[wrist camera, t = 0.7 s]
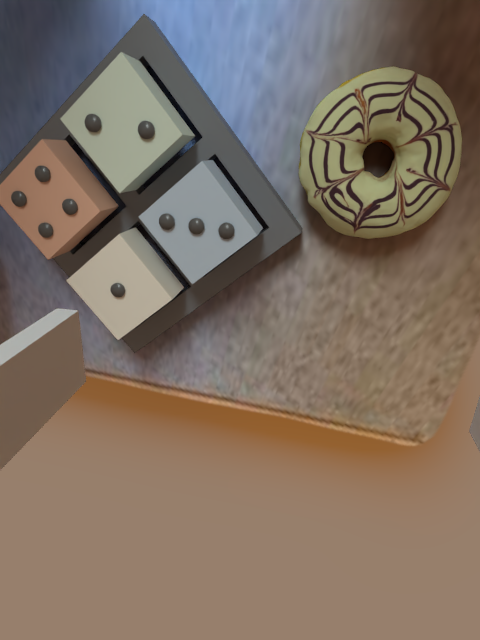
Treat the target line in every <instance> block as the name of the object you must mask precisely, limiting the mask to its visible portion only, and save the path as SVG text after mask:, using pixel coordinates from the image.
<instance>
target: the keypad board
mask: <svg viewBox="0 0 480 640" xmlns="http://www.w3.org/2000/svg"><path fill="white" fill-rule="evenodd" d="M120 52H122V53H124V54H127V55H129V56H131V57H133V58H135V59H137V60H139V61H140V62H141V63H142V65H143V66H144V67H145V69H146V68H147V67H148V66H149V65H150V66H151V67H152V68H153V70H154V71H155V73H156V74H157V75H158V77H159V78H160V79H161V81H162V82H163V83H164V85H165V86H166V88H167V89H168V90H169V92H170V93H171V94H172V96H173V97H174V98H175V100H176V101H177V103H178V104H179V105H180V107H181V108H182V109H183V111H184V112H185V113H186V115H187V116H188V118H189V119H190V120H191V122H192V123H193V124H194V126H195V127H196V128H197V130H198V131H199V133H200V134H201V135H202V138H201V139H200V140H199V141H198V142H197V143H196V144H195V145H194V146H192V147H191V148H190V149H189V150H188V151H187V152H186V153H185V154H184V155H183V156H181V157H180V158H179V159H178V160H177V161H176V162H175V163H174V164H173V165H172V166H170V167H169V168H168V169H167V170H166V171H165V172H164V173H163V174H162V175H160V176H159V177H158V178H157V179H156V180H155V181H154V182H153V183H152V184H151V185H149V186H148V187H147V188H146V189H145V187H144V186H143V185H141V186H140V187H139V188H138V189H137V190H133V191H128V192H124V193H119V192H118V191H117V190H116V188H115V187H114V186H113V185H112V183H111V182H110V181H109V180H108V178H107V177H106V176H105V175H104V173H103V172H102V171H101V170H100V168H99V167H98V166H97V165H96V163H95V162H94V161H93V160H92V158H91V157H90V156H89V155H88V153H87V152H86V151H85V149H84V148H83V147H82V146H81V144H80V143H79V142H78V141H77V139H76V138H75V137H74V136H73V134H72V133H71V132H70V131H69V129H68V128H67V127H66V126H65V124H64V123H63V122H62V121H61V119H60V118H61V117H62V116H63V115H64V114H65V113H66V112H67V111H68V110H69V109H70V107H71V106H72V105H73V104H74V103H75V102H76V101H77V100H78V99H79V98H80V96H81V95H82V94H83V93H84V92H85V91H86V90H87V89H88V88H89V86H90V85H91V84H92V83H93V82H94V81H95V80H96V79H97V78H98V77H99V75H100V74H101V73H102V72H103V71H104V70H105V69H106V68H107V67H108V66H109V64H110V63H111V62H112V61H113V60H114V59H115V58H116V57H117V56H118V55H119V53H120ZM41 139H51V140H66V141H67V142H68V144H69V145H70V146H71V147H72V146H73V145H74V144H75V143H77V145H78V146H79V147H80V148H81V150H82V151H83V152H84V153H85V155H86V156H87V157H88V158H89V160H90V161H91V162H92V163H93V165H94V166H95V167H96V168H97V170H98V171H99V172H100V173H101V175H102V176H103V177H104V178H105V180H106V181H107V182H108V183H109V185H110V186H111V187H112V188H113V190H114V191H115V192H116V193H117V195H118V196H119V197H120V198H121V200H122V201H123V202H124V203H125V205H126V207H125V208H124V209H123V210H122V211H121V212H120V213H119V214H118V215H116V216H115V217H114V218H113V219H112V220H111V221H110V222H109V223H108V224H106V225H105V226H104V227H103V228H102V229H101V230H100V231H99V232H98V233H97V234H95V235H94V236H93V237H92V238H91V239H90V240H89V241H88V242H87V243H86V244H84V245H83V246H81V245H80V243H78V244H77V245H76V246H75V247H74V248H73V249H71V250H70V251H69V252H66V253H64V254H61V255H59V256H56V257H54V258H53V259H54V260H55V261H56V262H57V263H58V265H59V266H60V267H61V268H62V269H63V270H64V272H65V273H66V274H67V275H68V276H69V277H71V276H72V275H73V274H74V273H75V272H77V271H78V270H79V269H80V268H81V267H82V266H83V265H84V264H86V263H87V262H88V261H89V260H90V259H91V258H92V257H94V256H95V255H96V254H97V253H98V252H99V251H100V250H101V249H103V248H104V247H105V246H106V245H107V244H108V243H109V242H111V241H112V240H113V239H114V238H115V237H116V236H117V235H118V234H120V233H123V232H125V231H128V230H130V229H132V228H135V227H137V226H138V225H139V224H141V225H142V226H143V227H144V228H145V230H146V231H147V232H148V233H149V235H150V236H151V237H152V238H153V240H154V241H155V242H156V243H157V245H158V246H159V247H160V248H161V250H162V251H163V252H164V253H165V255H166V256H167V257H168V258H169V260H170V261H171V262H172V263H173V265H174V266H175V267H176V268H177V270H178V271H179V272H180V273H181V275H182V276H183V277H184V278H185V280H186V281H187V282H188V283H189V285H190V286H189V287H188V288H186V289H185V290H184V291H182V292H181V293H180V294H178V295H177V296H176V297H174V298H173V299H172V300H171V301H169V302H168V303H167V304H166V305H164V306H163V307H162V308H160V309H159V310H158V311H156V312H155V313H154V314H152V315H151V316H150V317H148V318H147V319H146V320H144V321H143V322H142V323H140V324H139V325H138V326H136V327H135V328H134V329H132V330H131V331H130V332H128V333H127V334H126V335H124V336H123V337H122V339H123V340H124V341H125V342H126V343H127V345H128V346H129V347H130V348H131V349H132V350H133V352H134V353H136V352H137V351H138V350H140V349H141V348H142V347H144V346H145V345H147V344H148V343H149V342H151V341H152V340H153V339H155V338H156V337H158V336H159V335H160V334H162V333H163V332H165V331H166V330H167V329H169V328H170V327H171V326H173V325H174V324H176V323H177V322H178V321H180V320H181V319H183V318H184V317H185V316H187V315H188V314H189V313H191V312H192V311H194V310H195V309H196V308H198V307H199V306H200V305H202V304H203V303H205V302H206V301H207V300H209V299H210V298H212V297H213V296H214V295H216V294H217V293H218V292H220V291H221V290H223V289H224V288H225V287H227V286H228V285H230V284H231V283H232V282H234V281H235V280H236V279H238V278H239V277H241V276H242V275H243V274H245V273H246V272H247V271H249V270H250V269H252V268H253V267H254V266H256V265H257V264H259V263H260V262H261V261H263V260H264V259H265V258H267V257H268V256H270V255H271V254H272V253H274V252H275V251H277V250H278V249H279V248H281V247H282V246H283V245H285V244H286V243H288V242H289V241H290V240H292V239H293V238H294V237H296V236H297V235H299V234H300V233H301V232H302V227H301V225H300V224H299V223H298V221H297V220H296V219H295V217H294V216H293V214H292V213H291V212H290V210H289V209H288V207H287V206H286V205H285V203H284V202H283V200H282V199H281V198H280V196H279V195H278V193H277V192H276V191H275V189H274V188H273V186H272V185H271V184H270V182H269V181H268V179H267V178H266V177H265V175H264V174H263V172H262V171H261V170H260V168H259V167H258V165H257V164H256V163H255V161H254V160H253V158H252V157H251V156H250V154H249V153H248V152H247V150H246V149H245V147H244V146H243V145H242V143H241V142H240V140H239V139H238V138H237V136H236V135H235V133H234V132H233V131H232V129H231V128H230V126H229V125H228V124H227V122H226V121H225V119H224V118H223V117H222V115H221V114H220V112H219V111H218V110H217V108H216V107H215V105H214V104H213V103H212V101H211V100H210V98H209V97H208V96H207V94H206V93H205V91H204V90H203V89H202V87H201V86H200V85H199V83H198V82H197V80H196V79H195V78H194V76H193V75H192V73H191V72H190V71H189V69H188V68H187V66H186V65H185V64H184V62H183V61H182V59H181V58H180V57H179V55H178V54H177V52H176V51H175V50H174V48H173V47H172V45H171V44H170V43H169V41H168V40H167V38H166V37H165V36H164V34H163V33H162V31H161V30H160V29H159V27H158V26H157V24H156V23H155V22H154V21H153V20H151V19H150V18H149V17H148V16H146V15H145V14H143V16H142V17H141V18H140V19H139V20H138V21H137V22H136V23H135V24H134V26H133V27H132V28H131V29H130V30H129V31H128V32H127V33H126V35H125V36H124V37H123V38H122V39H121V40H120V41H119V42H118V43H117V45H116V46H115V47H114V48H113V49H112V50H111V51H110V52H109V54H108V55H107V56H106V57H105V58H104V59H103V60H102V61H101V62H100V64H99V65H98V66H97V67H96V68H95V69H94V70H93V71H92V72H91V74H90V75H89V76H88V77H87V78H86V79H85V80H84V81H83V83H82V84H81V85H80V86H79V87H78V88H77V89H76V90H75V91H74V93H73V94H72V95H71V96H70V97H69V98H68V99H67V100H66V101H65V103H64V104H63V105H62V106H61V107H60V108H59V109H58V110H57V112H56V113H55V114H54V115H53V116H52V117H51V118H50V119H49V120H48V122H47V123H46V124H45V125H44V126H43V127H42V128H41V129H40V131H39V132H38V133H37V134H36V135H35V136H34V137H33V138H32V139H31V141H30V142H29V143H28V144H27V145H26V146H25V147H24V148H23V149H22V151H21V152H20V153H19V154H18V155H17V156H16V157H15V158H14V160H13V161H12V162H11V163H10V164H9V165H8V166H7V167H6V168H5V170H4V171H3V172H2V173H1V174H0V184H1V183H2V182H3V181H4V180H5V179H6V178H7V177H8V176H9V175H10V173H11V172H12V171H13V170H14V169H15V168H16V167H17V166H18V165H19V164H20V162H21V161H22V160H23V159H24V158H25V157H26V156H27V155H28V154H29V153H30V151H31V150H32V149H33V148H34V147H35V146H36V145H37V144H38V143H39V142H40V140H41ZM216 157H218V158H219V160H220V161H221V162H222V164H223V165H224V167H225V168H226V169H227V171H228V172H229V173H230V175H231V176H232V177H233V179H234V180H235V182H236V183H237V184H238V186H239V187H240V188H241V190H242V191H243V192H244V194H245V195H246V197H247V198H248V199H249V201H250V202H251V203H252V205H253V206H254V207H255V209H256V210H257V212H258V213H259V214H260V216H261V217H262V218H263V220H264V221H265V222H266V224H267V225H268V227H267V228H266V229H265V230H263V231H262V232H261V233H259V234H258V235H257V236H256V237H254V238H253V239H252V240H250V241H249V242H248V243H246V244H245V245H244V246H242V247H241V248H240V249H238V250H237V251H236V252H235V253H233V254H232V255H231V256H229V257H228V258H227V259H225V260H224V261H223V262H221V263H220V264H219V265H217V266H216V267H215V268H213V269H212V270H211V271H209V272H208V273H207V274H205V275H204V276H203V277H201V278H200V279H199V280H197V281H196V282H195V283H193V284H192V283H191V282H190V281H189V280H188V278H187V277H186V276H185V275H184V273H183V272H182V271H181V270H180V268H179V267H178V266H177V265H176V263H175V262H174V261H173V260H172V258H171V257H170V256H169V255H168V253H167V252H166V251H165V250H164V248H163V247H162V246H161V245H160V243H159V242H158V241H157V240H156V238H155V237H154V236H153V235H152V233H151V232H150V231H149V230H148V228H147V227H146V226H145V225H144V223H143V222H142V221H141V220H140V218H139V216H140V215H141V214H142V213H143V212H145V211H146V210H147V209H148V208H149V207H150V206H151V205H152V204H154V203H155V202H156V201H157V200H158V199H159V198H160V197H162V196H163V195H164V194H165V193H166V192H167V191H168V190H169V189H171V188H172V187H173V186H174V185H175V184H176V183H177V182H179V181H180V180H181V179H182V178H183V177H184V176H185V175H186V174H188V173H189V172H190V171H191V170H192V169H193V168H194V167H196V166H197V165H198V164H199V163H200V162H201V161H206V160H214V159H215V158H216Z"/></svg>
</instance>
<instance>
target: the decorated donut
mask: <svg viewBox="0 0 480 640" xmlns="http://www.w3.org/2000/svg"><path fill="white" fill-rule="evenodd" d="M374 142H378V143H379V142H383V143H384V144H387V145H388V146H389V147H390V149H391V150H392V151H393V152H394V160H393V161H392V164H391V168H390V170H389V171H388V172H387V173H385V174H384V175H383V176H381V177H379V178H377V177H375V176H373V175H372V173H370V172H366V171H364V161H363V158H362V155H363V152H364V150H365V148H366V147H367V146H368V145H369V144H371V143H374ZM461 146H462V136H461V128H460V124H459V122H458V119H457V117H456V113H455V110H454V107H453V105H452V103H451V101H450V99H449V98H448V97H447V95H446V94H445V93H444V91H443V90H442V88H441V87H440V86H439V85H438V84H437V83H436V82H434V81H433V80H431V79H430V78H427V77H424V76H422V75H419V74H417V73H415V72H414V71H411V70H407V69H401V68H397V67H393V66H392V67H386V68H380V69H374V70H371V71H368V72H365V73H362V74H360V75H358V76H356V77H354V78H353V79H351V80H348V81H346V82H344V83H342V84H341V85H340V86H339V87H338V88H337V89H336V90H334V91H332V92H331V93H329V94H328V95H327V96H326V97H325V98H324V99H323V100H322V101H321V102H320V103H319V104H318V106H317V107H316V108H315V110H314V112H313V114H312V115H311V117H310V119H309V121H308V124H307V125H306V128H305V130H304V132H303V134H302V137H301V140H300V163H299V178H300V182H301V184H302V186H303V188H304V189H305V190H306V193H307V196H308V202H309V204H310V205H311V206H312V207H313V208H315V209H316V210H317V211H318V212H319V213H320V215H321V216H322V218H323V219H324V220H325V222H326V223H327V224H328V225H329V226H330V227H331V228H333V229H334V230H335V231H337V232H339V233H342V234H344V235H348V236H353V237H361V238H366V239H371V238H381V237H389V236H393V235H398V234H401V233H403V232H406V231H409V230H411V229H414V228H416V227H417V226H419V225H421V224H423V223H424V222H426V221H427V220H428V219H429V218H431V217H432V216H433V215H434V213H435V212H436V211H437V210H438V209H439V208H440V207H441V206H442V204H443V203H444V202H445V201H446V200H447V199H448V197H449V195H450V193H451V190H452V188H453V185H454V183H455V181H456V179H457V176H458V173H459V168H460V158H461V152H462V151H461Z"/></svg>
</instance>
